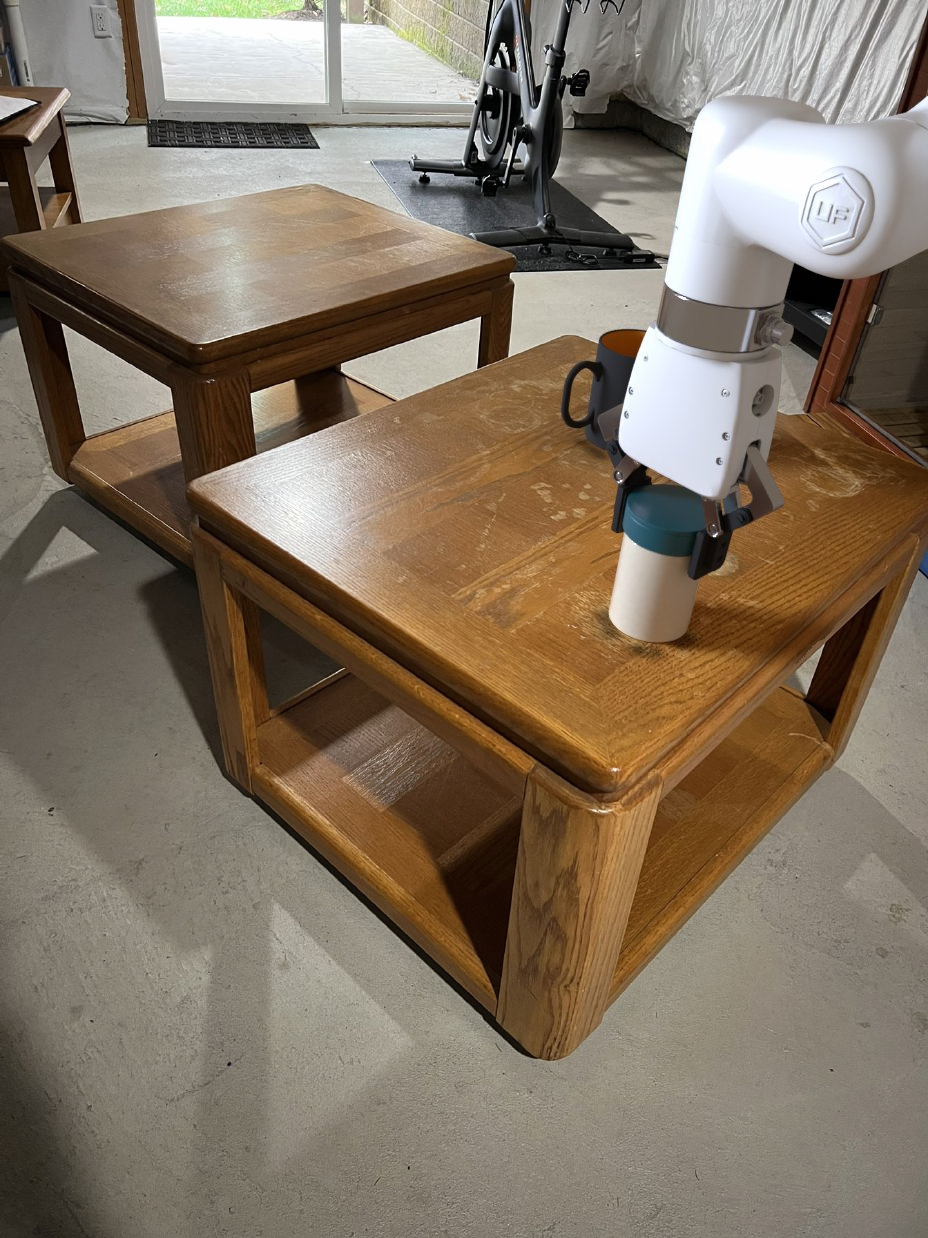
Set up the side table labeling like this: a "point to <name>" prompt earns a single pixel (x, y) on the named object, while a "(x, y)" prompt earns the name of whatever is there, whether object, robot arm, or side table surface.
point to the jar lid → (664, 518)
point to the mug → (604, 379)
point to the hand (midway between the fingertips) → (664, 547)
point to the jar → (652, 594)
